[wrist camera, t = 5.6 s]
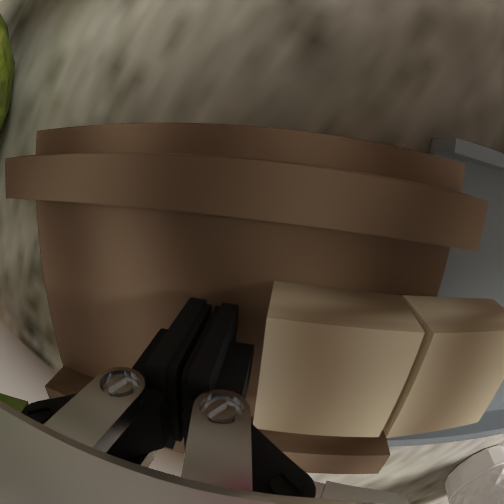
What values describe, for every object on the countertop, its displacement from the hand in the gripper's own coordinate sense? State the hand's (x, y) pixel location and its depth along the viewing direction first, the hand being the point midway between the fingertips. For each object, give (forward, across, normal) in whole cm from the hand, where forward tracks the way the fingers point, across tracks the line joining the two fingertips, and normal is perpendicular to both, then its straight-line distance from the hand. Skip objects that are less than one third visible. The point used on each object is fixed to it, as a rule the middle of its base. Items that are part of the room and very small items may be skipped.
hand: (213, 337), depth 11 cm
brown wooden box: (+5, 0, 0) cm, 5 cm away
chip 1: (+1, -4, 0) cm, 4 cm away
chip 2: (+1, -8, 0) cm, 9 cm away
